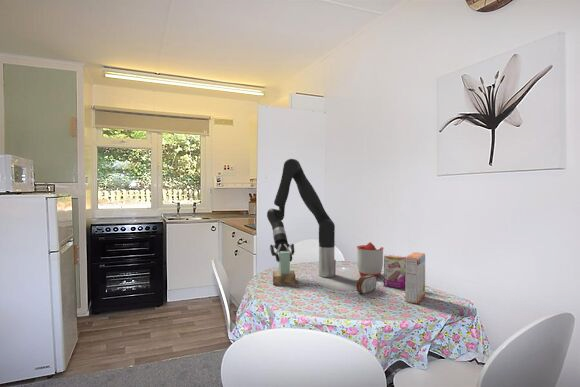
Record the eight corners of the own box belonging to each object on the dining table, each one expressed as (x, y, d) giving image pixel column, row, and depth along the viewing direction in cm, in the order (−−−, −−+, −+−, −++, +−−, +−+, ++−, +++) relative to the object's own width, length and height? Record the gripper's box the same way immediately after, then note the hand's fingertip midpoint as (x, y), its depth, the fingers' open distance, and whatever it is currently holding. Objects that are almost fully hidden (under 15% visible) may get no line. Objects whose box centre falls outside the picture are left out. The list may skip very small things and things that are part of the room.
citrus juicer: (390, 276, 199) (391, 242, 199) (370, 280, 189) (371, 245, 189) (370, 270, 212) (371, 239, 212) (350, 274, 202) (351, 241, 202)
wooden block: (293, 279, 192) (294, 270, 192) (295, 285, 180) (295, 276, 180) (272, 279, 191) (273, 270, 191) (273, 285, 179) (273, 276, 179)
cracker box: (412, 294, 165) (413, 251, 165) (425, 296, 162) (426, 253, 162) (404, 301, 154) (404, 256, 154) (417, 304, 150) (418, 258, 150)
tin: (372, 288, 174) (372, 272, 174) (377, 289, 172) (378, 273, 172) (355, 294, 164) (356, 277, 164) (361, 296, 161) (361, 278, 161)
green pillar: (287, 271, 188) (287, 250, 188) (289, 274, 184) (290, 252, 183) (278, 272, 187) (279, 251, 187) (280, 274, 182) (281, 252, 182)
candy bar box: (383, 286, 178) (383, 255, 178) (384, 284, 182) (385, 254, 182) (405, 289, 173) (405, 257, 173) (406, 286, 178) (406, 255, 177)
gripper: (268, 232, 190) (273, 257, 179) (293, 232, 194) (298, 256, 183) (266, 240, 196) (270, 265, 184) (290, 240, 199) (295, 264, 188)
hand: (284, 260), depth 184 cm, fingers open, 6 cm apart
